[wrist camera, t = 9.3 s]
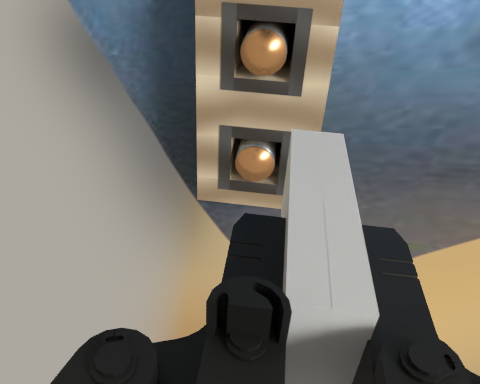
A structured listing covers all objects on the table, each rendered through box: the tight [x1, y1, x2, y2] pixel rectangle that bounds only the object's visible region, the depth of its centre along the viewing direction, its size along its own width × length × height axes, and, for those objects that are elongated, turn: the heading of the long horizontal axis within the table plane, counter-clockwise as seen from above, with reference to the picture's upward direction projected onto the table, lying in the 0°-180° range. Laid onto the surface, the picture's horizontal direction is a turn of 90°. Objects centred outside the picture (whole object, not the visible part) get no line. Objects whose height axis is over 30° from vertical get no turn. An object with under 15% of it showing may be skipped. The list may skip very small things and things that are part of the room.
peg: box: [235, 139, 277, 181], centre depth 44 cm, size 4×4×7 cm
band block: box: [195, 0, 344, 209], centre depth 42 cm, size 22×12×7 cm, turn 177°
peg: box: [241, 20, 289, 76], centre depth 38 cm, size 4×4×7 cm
